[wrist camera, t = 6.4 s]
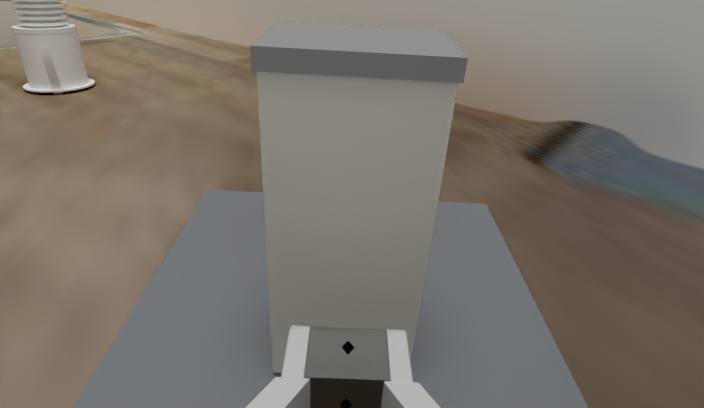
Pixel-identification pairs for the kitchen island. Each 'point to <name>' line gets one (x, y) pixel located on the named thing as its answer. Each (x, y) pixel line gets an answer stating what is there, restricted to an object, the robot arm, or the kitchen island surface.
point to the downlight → (49, 48)
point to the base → (255, 332)
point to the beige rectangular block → (351, 170)
